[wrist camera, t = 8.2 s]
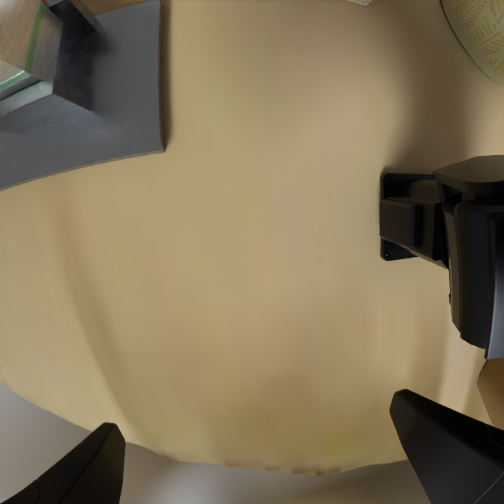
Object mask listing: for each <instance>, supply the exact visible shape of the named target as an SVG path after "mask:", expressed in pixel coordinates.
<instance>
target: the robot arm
mask: <svg viewBox="0 0 504 504" xmlns="http://www.w3.org/2000/svg"><path fill="white" fill-rule="evenodd" d="M387 177H388V179H389V182H388V183H387V182H386V178H387ZM380 186H381V202H380V236H381V253H380V254H381V258H382V259H384V260H386V261H392V260H399V259H406V258H413V257H421V258H423V259H425V260H427V261H430V262H432V263H434V264H436V265H438V266H441V267H443V268H445V269H447V270H449V280H450V294H449V303H450V305H451V315H452V322H453V323H454V325H455V326H456V328H457V329H458V331H459V332H460V337H461V338H462V339H463V340H465V341H466V342H468V343H469V344H471V345H474V346H477V347H479V348H483V349H485V355H484V358H485V359H497V358H504V155H491V156H477V157H474V158H471V159H468V160H465V161H462V162H459V163H456V164H453V165H450V166H447V167H444V168H441V169H438V170H435V171H433V175H423V174H395V173H385V174H383V175H382V176H381V178H380ZM387 252H389V254H388V256H386V253H387ZM390 415H391V418H392V421H393V423H394V426H395V428H396V431H397V434H398V436H399V439H400V442H401V444H402V447H403V449H404V451H405V453H406V455H407V457H408V459H409V461H410V462H411V465H412V467H413V468H414V470H415V472H416V474H417V476H418V478H419V480H420V482H421V484H422V486H423V488H424V490H425V492H426V494H427V496H428V498H429V500H430V502H431V504H504V430H502V429H499V428H496V427H493V426H491V425H488V424H485V423H483V422H481V421H478V420H476V419H474V418H471V417H469V416H466V415H464V414H462V413H459V412H457V411H455V410H452V409H450V408H448V407H445V406H443V405H441V404H439V403H436V402H434V401H432V400H430V399H428V398H425V397H423V396H421V395H419V394H417V393H415V392H412V391H410V390H408V389H402V390H399V391H396V392H395V393H394V395H393V399H392V402H391V406H390ZM125 445H126V444H125V439H124V437H123V435H122V433H121V431H120V430H119V428H118V426H117V425H116V424H115V423H108V422H105V423H103V424H101V425H100V426H99V427H98V428H97V429H96V430H94V431H93V432H92V433H91V434H90V435H89V436H88V437H86V438H85V439H84V440H83V441H82V442H81V443H79V444H78V445H77V446H76V447H75V448H73V449H72V450H71V451H70V452H69V453H68V454H66V455H65V456H64V457H63V458H61V459H60V460H59V461H58V462H57V463H55V464H54V465H53V466H52V467H51V468H49V469H48V470H47V471H46V472H44V473H43V474H42V475H41V476H40V477H38V479H36V480H34V481H33V482H32V483H31V484H30V485H28V486H27V487H25V488H24V489H23V490H22V491H20V492H18V493H17V494H15V495H14V496H12V497H11V498H9V499H7V500H6V501H4V502H2V503H0V504H119V502H120V495H121V490H122V484H123V473H124V457H125Z"/></svg>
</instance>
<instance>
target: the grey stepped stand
mask: <svg viewBox="0 0 504 504" xmlns="http://www.w3.org/2000/svg"><path fill="white" fill-rule="evenodd" d="M39 1H42V2H44V3H45V4H46V7H47V8H48V9H49V10H51V11H52V12H53V13H54V14H55V15H56V16H57V17H58V18H59V19H60V20H62V21H63V27H62V32H61V37H60V43H59V49H58V56H57V64H56V72H55V77H52V78H49V79H47V80H45V81H42V82H40V83H38V84H35V85H33V86H31V87H29V88H27V89H24V90H22V91H20V92H18V93H16V94H14V95H12V96H10V97H8V98H6V99H5V100H3V101H1V102H0V191H2V190H5V189H8V188H11V187H14V186H17V185H20V184H23V183H27V182H30V181H33V180H37V179H40V178H44V177H47V176H51V175H55V174H58V173H62V172H66V171H70V170H74V169H78V168H83V167H87V166H91V165H96V164H101V163H105V162H110V161H115V160H120V159H126V158H131V157H137V156H143V155H149V154H155V153H162V152H165V149H164V132H163V111H162V18H163V5H162V2H161V0H151V1H146V2H141V3H137V4H133V5H129V6H125V7H121V8H118V9H114V10H111V11H107V12H104V13H101V14H98V15H95V16H94V15H93V14H92V13H91V12H90V10H89V9H88V8H87V7H86V5H85V4H84V3H83V2H82V1H81V0H39Z"/></svg>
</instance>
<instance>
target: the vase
mask: <svg viewBox="0 0 504 504" xmlns="http://www.w3.org/2000/svg"><path fill="white" fill-rule="evenodd" d="M441 1H442V5H443V9H444V12H445V14H446V17H447V19H448V21H449V23H450V25H451V27H452V29H453V31H454V33H455V34H456V36H457V38H458V40H459V41H460V43H461V44H462V46H463V47H464V49H465V50H466V51H467V53H468V54H469V56H470V57H471V58H472V59H473V61H474V62H475V63H476V64H477V66H478V67H479V68H480V69H481V70H482V71H483V72H484V73H485V74H486V75H487V76H488V77H489V78H490V79H492V80H493V81H494V82H496V83H498V84H499V85H501V86H504V0H441Z"/></svg>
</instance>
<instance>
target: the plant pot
mask: <svg viewBox="0 0 504 504" xmlns="http://www.w3.org/2000/svg"><path fill="white" fill-rule="evenodd" d="M478 389H479V391H480V394H481V397H482V400H483V402H484V405H485V407H486V410H487V412H488V415H489V417H490V419H491V422H492V424H493V426H494V427H496V428H499V429H502V430H504V358H497V359H489V360H488V361H487V363H486V364H485V366H484V368H483V370H482V371H481V374H480V376H479V379H478Z"/></svg>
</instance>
